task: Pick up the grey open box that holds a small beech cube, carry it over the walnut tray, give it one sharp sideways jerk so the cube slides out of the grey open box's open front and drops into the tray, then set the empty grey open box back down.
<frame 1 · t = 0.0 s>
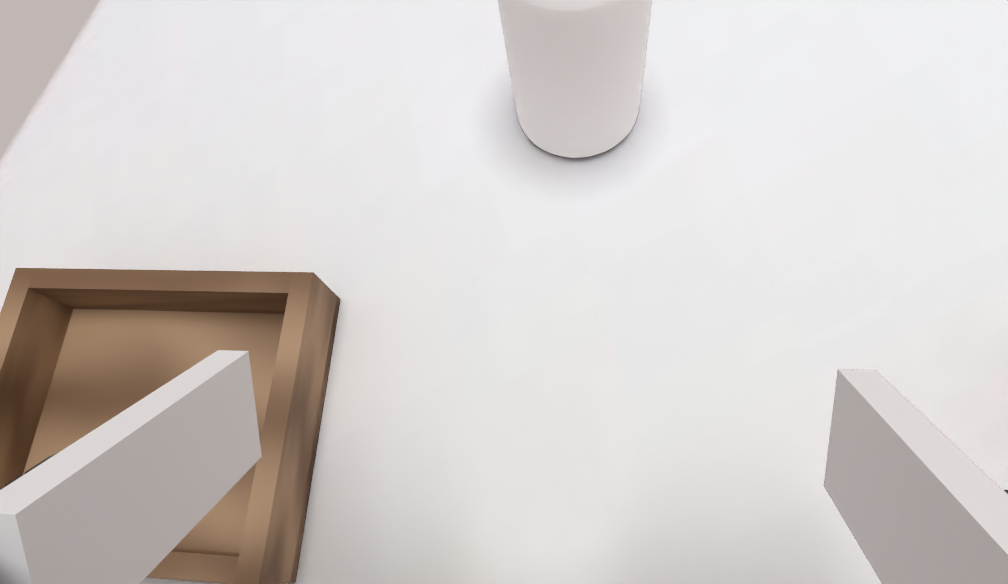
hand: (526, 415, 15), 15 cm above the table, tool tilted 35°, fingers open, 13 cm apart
can: (577, 112, 36), on the table
tray: (170, 423, 32), on the table
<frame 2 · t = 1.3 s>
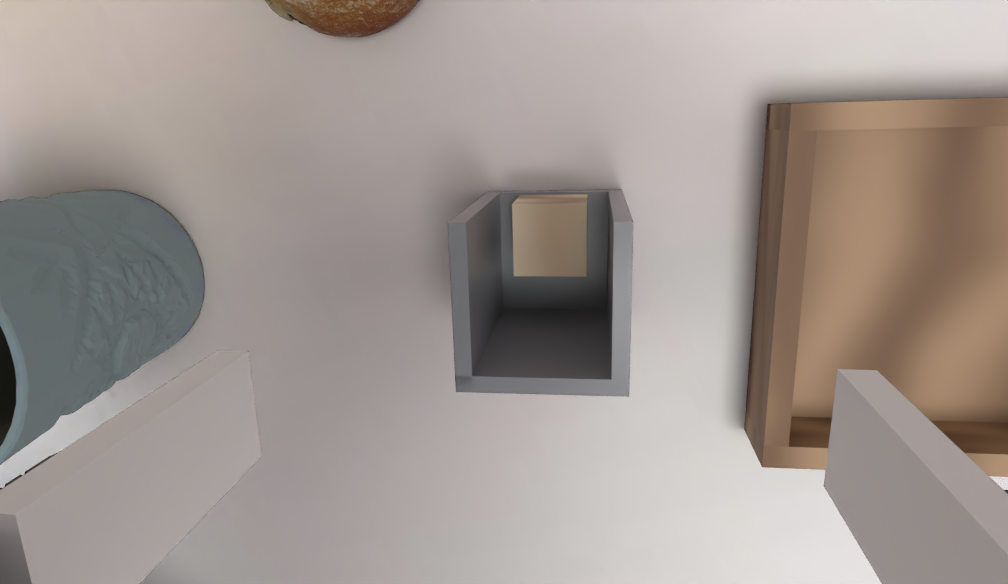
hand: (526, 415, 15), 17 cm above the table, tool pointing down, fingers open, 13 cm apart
grey open box: (554, 255, 31), on the table, touching cube
blue-grey cup: (125, 273, 34), on the table
tray: (910, 278, 29), on the table
cube: (553, 228, 30), point 1 cm above the table, touching grey open box
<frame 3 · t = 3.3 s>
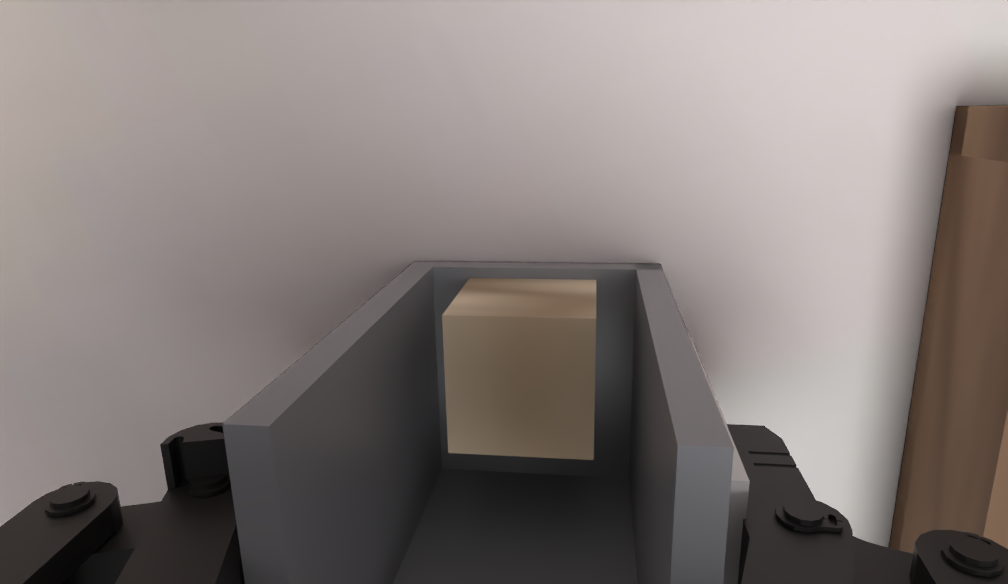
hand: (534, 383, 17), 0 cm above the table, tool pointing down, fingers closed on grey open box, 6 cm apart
grey open box: (535, 377, 17), on the table, touching cube, gripper
cube: (532, 338, 16), point 1 cm above the table, touching grey open box
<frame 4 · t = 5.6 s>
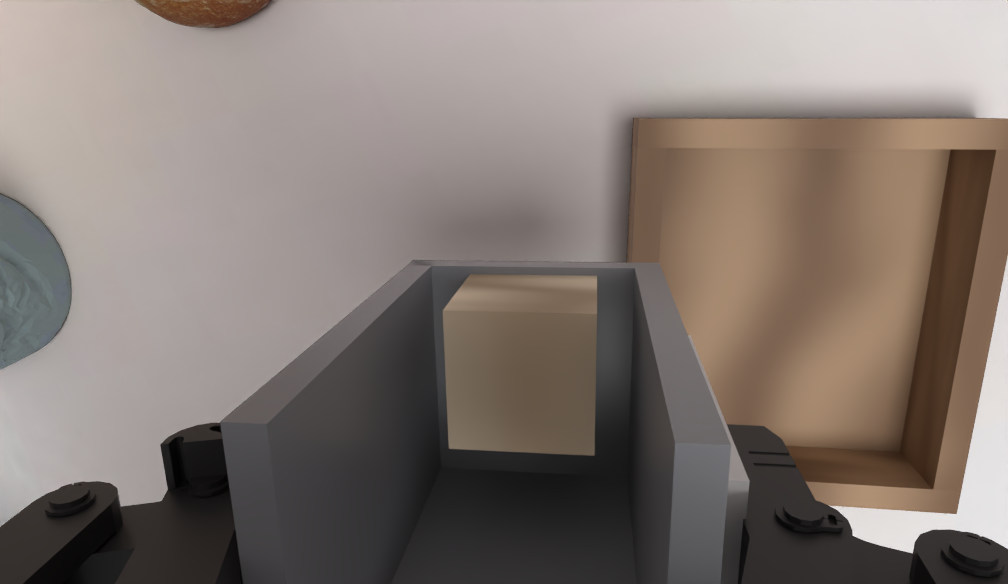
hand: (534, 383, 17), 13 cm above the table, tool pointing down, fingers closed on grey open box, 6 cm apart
grey open box: (534, 376, 17), point 13 cm above the table, touching cube, gripper
tray: (780, 300, 29), on the table
cube: (533, 335, 16), point 13 cm above the table, touching grey open box
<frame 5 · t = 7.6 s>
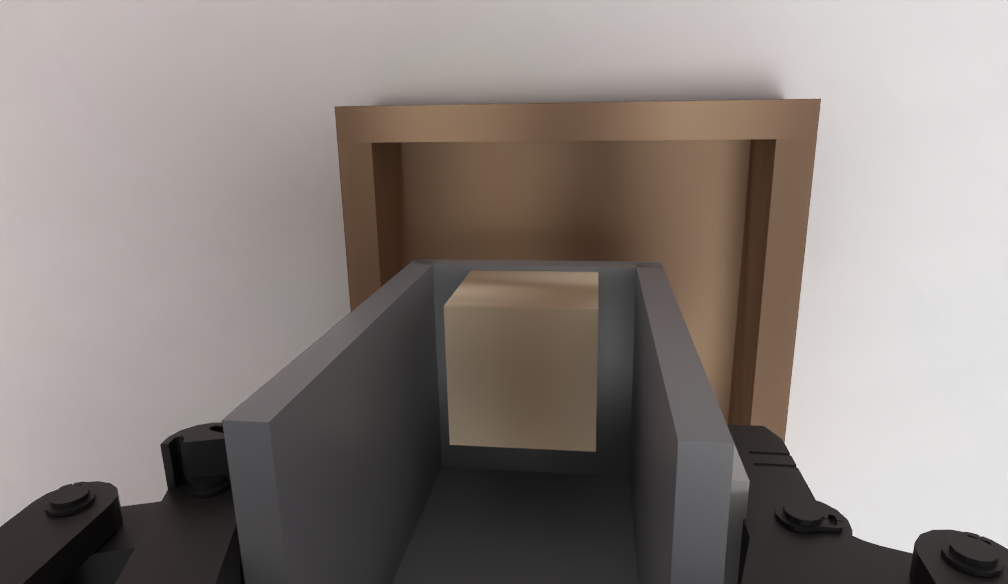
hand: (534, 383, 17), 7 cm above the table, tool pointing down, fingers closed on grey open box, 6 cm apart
grey open box: (535, 375, 17), point 6 cm above the table, touching cube, gripper
tray: (568, 327, 23), on the table
cube: (534, 331, 16), point 7 cm above the table, touching grey open box
when the fingers open (2 cm above the table, at t = 14.2 s): grey open box drops 1 cm, on the table.
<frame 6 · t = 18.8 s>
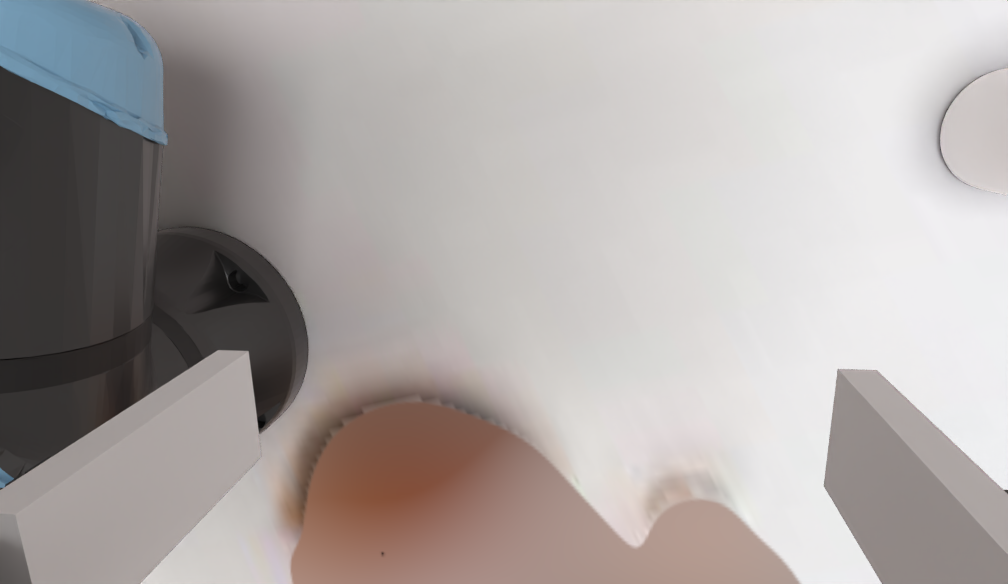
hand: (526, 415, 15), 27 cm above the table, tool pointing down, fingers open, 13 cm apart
can: (998, 129, 36), on the table
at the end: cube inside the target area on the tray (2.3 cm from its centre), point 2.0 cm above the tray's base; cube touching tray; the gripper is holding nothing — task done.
